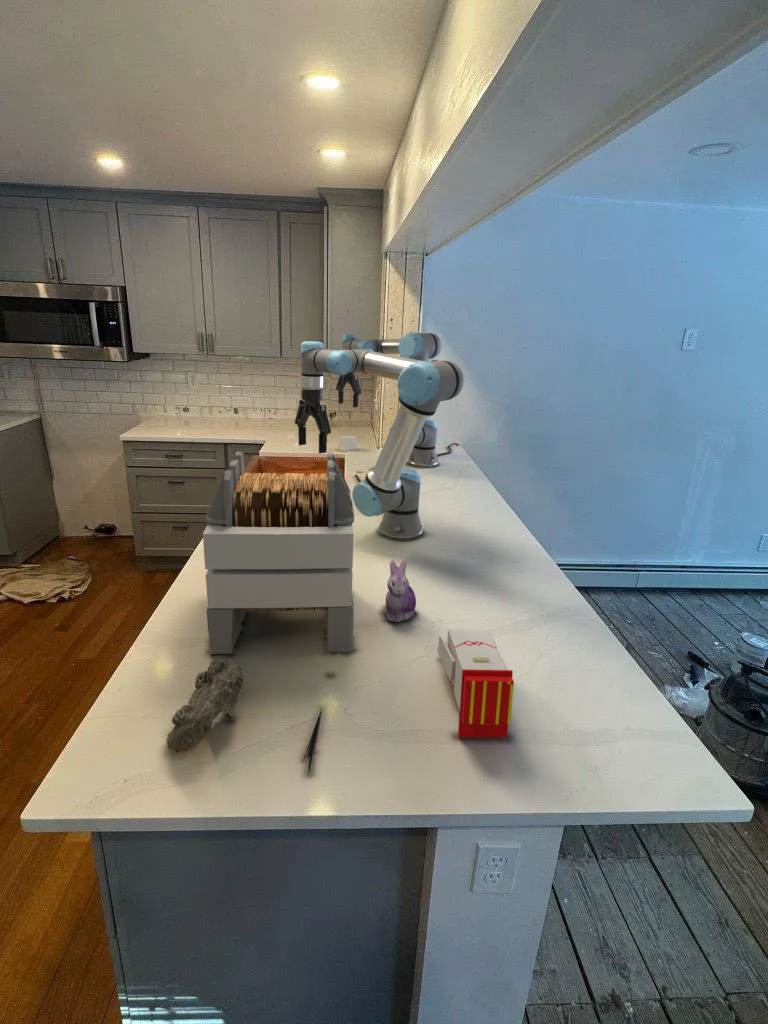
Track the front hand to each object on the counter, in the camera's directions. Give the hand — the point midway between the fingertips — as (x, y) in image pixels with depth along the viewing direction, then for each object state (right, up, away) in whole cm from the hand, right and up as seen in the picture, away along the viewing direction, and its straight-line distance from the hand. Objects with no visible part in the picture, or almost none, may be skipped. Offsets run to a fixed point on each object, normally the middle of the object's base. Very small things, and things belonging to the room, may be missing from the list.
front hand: (312, 448), depth 202 cm
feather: (+13, -62, -94) cm, 113 cm away
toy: (+44, -60, -84) cm, 112 cm away
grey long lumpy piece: (-7, -62, -94) cm, 113 cm away
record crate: (+1, -49, -58) cm, 76 cm away
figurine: (+30, -49, -55) cm, 79 cm away
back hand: (+6, +35, +104) cm, 110 cm away
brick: (+5, +12, +112) cm, 113 cm away
